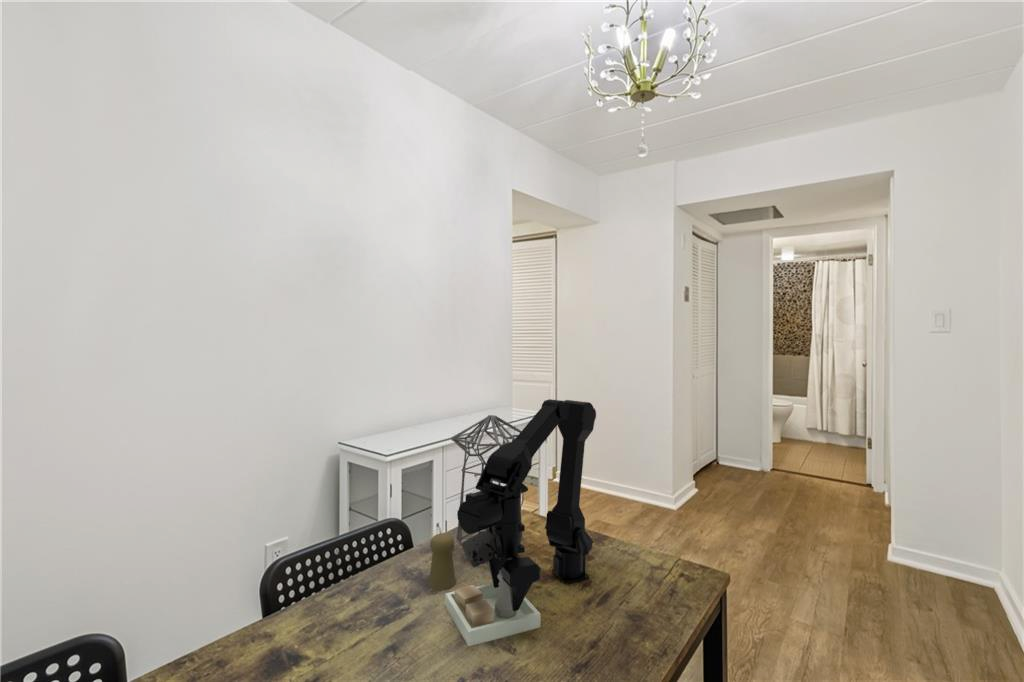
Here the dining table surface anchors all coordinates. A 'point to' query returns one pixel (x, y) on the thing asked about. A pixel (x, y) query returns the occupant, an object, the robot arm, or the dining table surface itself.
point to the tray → (501, 627)
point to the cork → (442, 562)
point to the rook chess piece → (503, 599)
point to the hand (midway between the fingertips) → (505, 598)
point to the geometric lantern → (456, 439)
